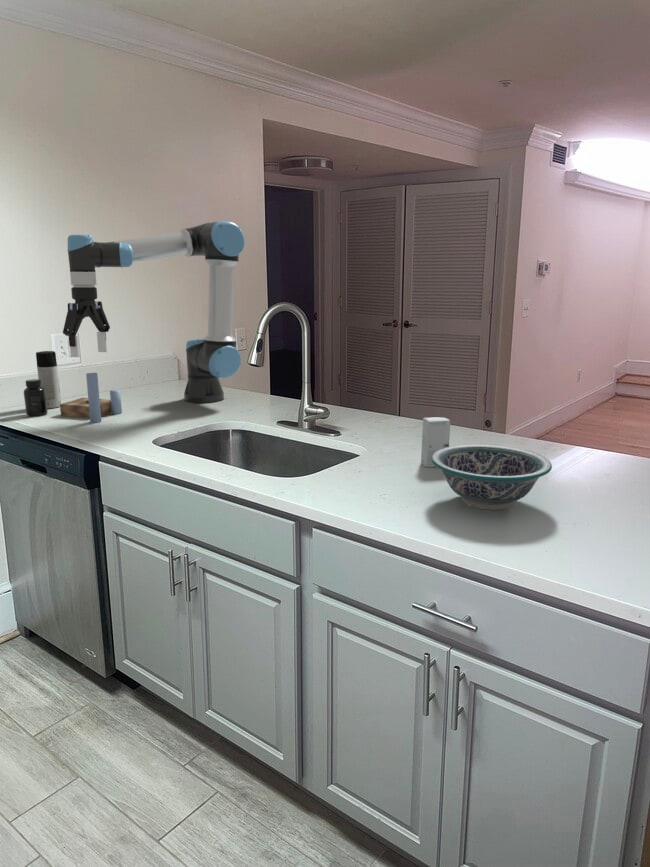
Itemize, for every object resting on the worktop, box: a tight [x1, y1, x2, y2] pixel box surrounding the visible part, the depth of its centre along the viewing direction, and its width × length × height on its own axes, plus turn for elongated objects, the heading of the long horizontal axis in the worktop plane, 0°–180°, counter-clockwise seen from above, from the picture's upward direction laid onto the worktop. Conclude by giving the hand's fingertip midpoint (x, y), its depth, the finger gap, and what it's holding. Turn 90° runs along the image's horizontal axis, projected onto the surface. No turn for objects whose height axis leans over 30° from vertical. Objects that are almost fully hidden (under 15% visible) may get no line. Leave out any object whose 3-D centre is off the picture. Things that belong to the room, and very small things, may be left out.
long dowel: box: [85, 372, 102, 424], centre depth 212 cm, size 3×3×16 cm
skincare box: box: [420, 416, 451, 468], centre depth 167 cm, size 6×4×12 cm
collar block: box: [59, 397, 112, 419], centre depth 226 cm, size 14×12×4 cm
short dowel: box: [109, 389, 123, 415], centre depth 225 cm, size 3×3×8 cm
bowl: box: [431, 443, 553, 511], centre depth 141 cm, size 25×25×10 cm
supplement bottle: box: [23, 378, 49, 417], centre depth 223 cm, size 7×7×12 cm
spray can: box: [35, 350, 62, 409], centre depth 234 cm, size 7×7×20 cm
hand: (89, 354), depth 209 cm, fingers open, 13 cm apart
